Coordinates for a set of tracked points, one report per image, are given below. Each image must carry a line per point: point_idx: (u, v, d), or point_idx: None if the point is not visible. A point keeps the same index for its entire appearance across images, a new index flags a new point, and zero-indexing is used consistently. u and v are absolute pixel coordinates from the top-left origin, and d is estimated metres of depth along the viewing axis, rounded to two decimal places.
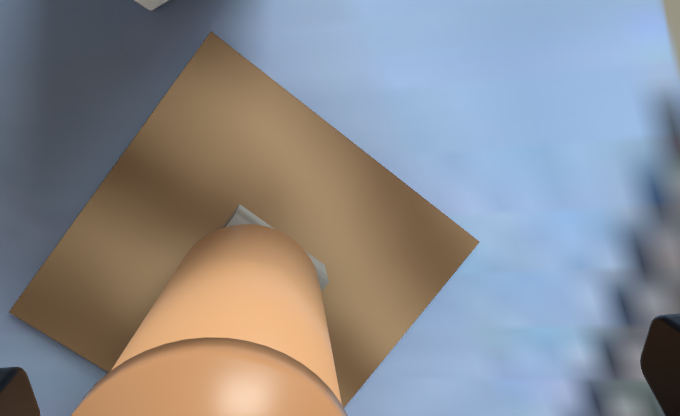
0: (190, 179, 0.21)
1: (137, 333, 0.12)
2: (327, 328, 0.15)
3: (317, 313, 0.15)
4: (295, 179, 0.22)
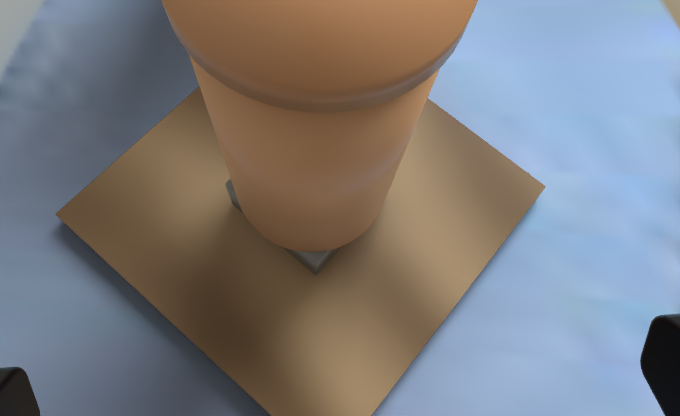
0: None
1: None
2: None
3: None
4: None
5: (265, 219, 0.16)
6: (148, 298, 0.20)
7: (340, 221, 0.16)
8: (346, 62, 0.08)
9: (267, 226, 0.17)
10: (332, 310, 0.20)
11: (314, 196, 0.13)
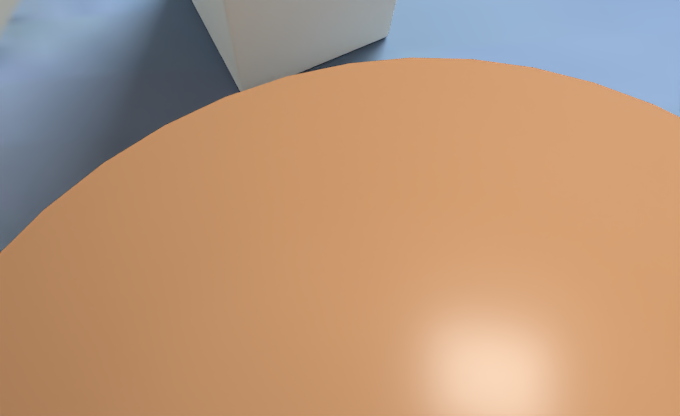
0: None
1: None
2: None
3: None
4: None
5: None
6: None
7: None
8: None
9: None
10: None
11: None
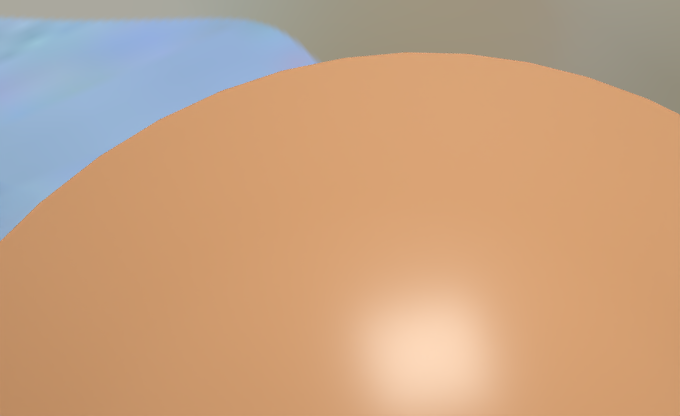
0: None
1: None
2: None
3: None
4: None
5: None
6: None
7: None
8: None
9: None
10: None
11: None
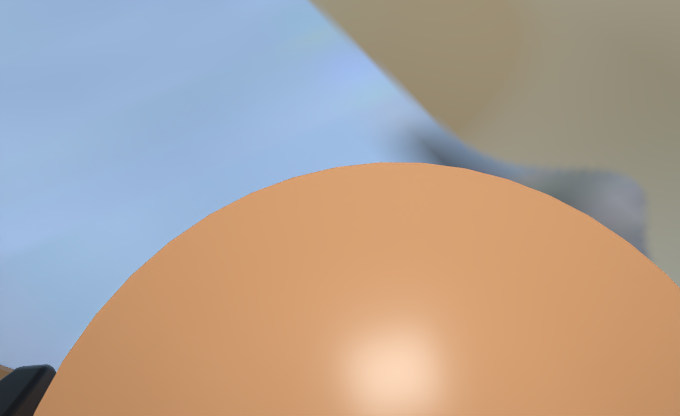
0: None
1: None
2: None
3: None
4: None
5: None
6: None
7: None
8: None
9: None
10: None
11: None
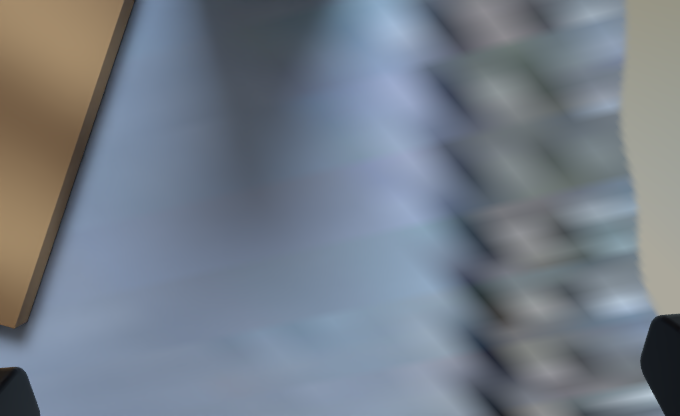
0: None
1: None
2: None
3: None
4: None
5: None
6: None
7: None
8: None
9: None
10: None
11: None
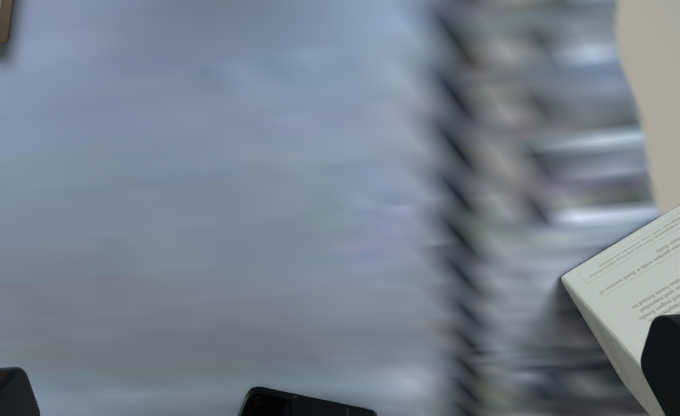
0: None
1: None
2: None
3: None
4: None
5: None
6: None
7: None
8: None
9: None
10: None
11: None
